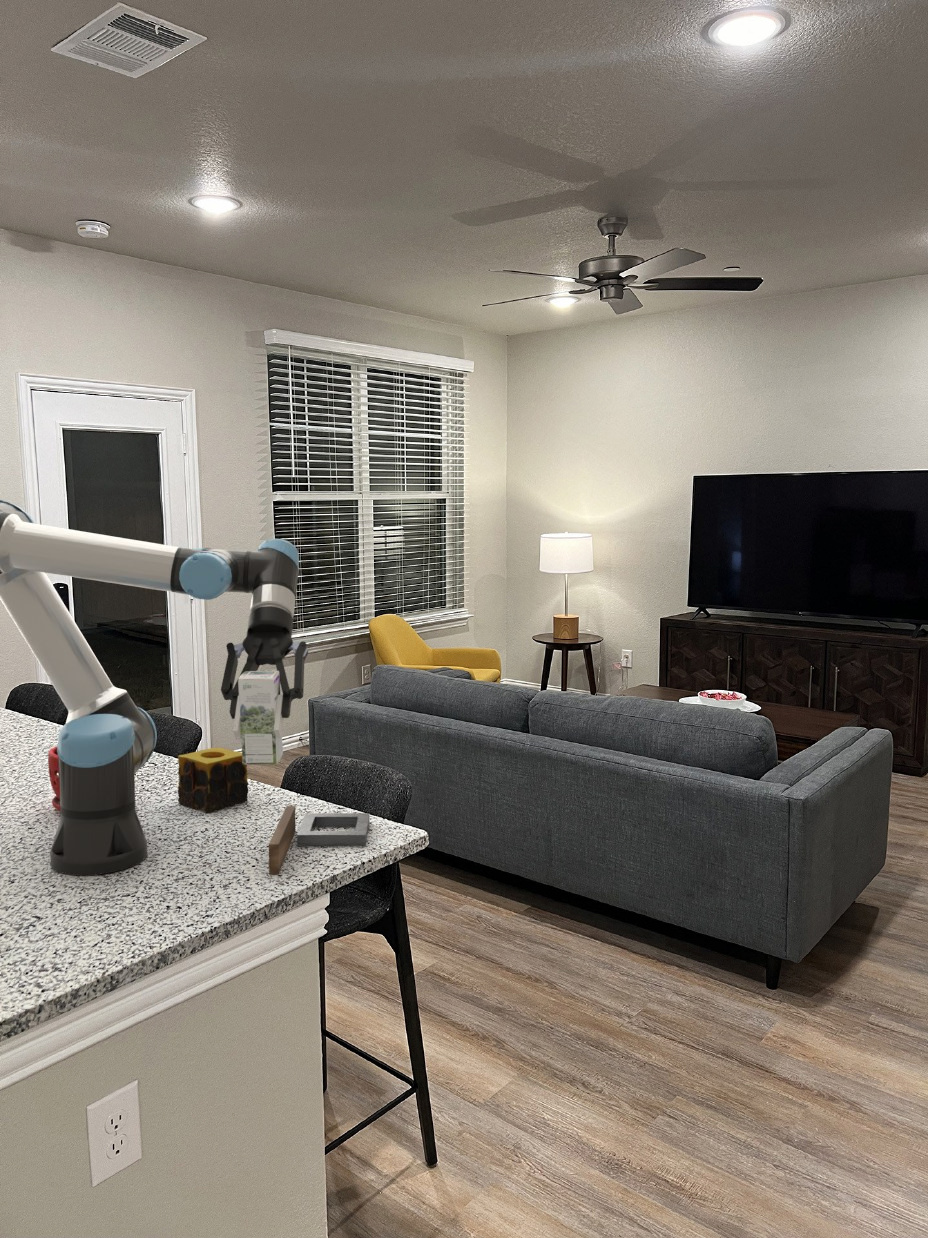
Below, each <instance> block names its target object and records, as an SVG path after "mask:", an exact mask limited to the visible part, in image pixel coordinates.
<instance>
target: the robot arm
mask: <svg viewBox="0 0 928 1238" xmlns="http://www.w3.org/2000/svg"><path fill="white" fill-rule="evenodd" d="M299 561H300V555H299V550H298V549H297V548H296V546H295V545H294V544H293V543H291V542H290V541H288V540H286V539H281V538H272V539H270V540H265V541H263V542H262V543H260V545H259V546H258V549H257V550H245V551H244V550H237V549H236V550H235V549H223V548H222V549H221V548H211V547H202V548H198V547H196V548H195V547H193V548H187V547H180V546H174V545H168V544H167V545H166V544H162V543H156V542H149V541H143V540H136V539H130V538H123V537H118V536H111V535H106V534H101V533H100V534H99V533H94V532H87V531H82V530H81V531H80V530H77V529H76V530H75V529H70V528H63V527H58V526H51V525H45V524H38V523H35V521H34V519H33V518H32V516H30V514H29V513H28V512H27V511H26V510H24V508H22V507H20V505H19V506H18V505H17V504H14V503H12V502H10V501H6V500H1V499H0V601H1V603H2V605H3V607H4V609H5V610H6V611H7V613H8V615H9V616H10V618H11V620H12V621H13V623H14V624H15V627H17V629H18V631H19V633H20V634H21V636H22V638H23V639H24V641H25V642H26V644H27V646H28V648H30V650H31V652H32V654H33V655H34V657H35V658H36V660H37V662H38V664H39V665H40V668H42V669H43V672H44V674H45V675H46V676H47V679H49V682H50V683H51V684H52V686H53V688H54V689H55V692H56V693H57V695H58V696H59V698H60V699H61V701H62V703H63V705H64V706H65V707H66V709H67V713H68V714H67V718H66V720H65V721H66V722H65V724H64V725H63V726H62V727H61V728H60V729H59V733H58V740H57V744H56V746H57V752H58V760H59V774H58V776H59V785H60V811H59V812H60V819H59V822H58V825H57V827H56V832H55V835H54V837H53V841H52V845H51V848H50V852H49V853H50V854H49V855H50V856H49V858H50V867H51V868H52V869H53V870H54V871H56V872H59V873H62V874H65V875H66V874H67V875H75V876H95V875H103V874H110V873H114V872H119V871H122V870H126V869H130V868H131V867H135V866H136V865H138V864H140V863H141V862H142V861H144V860H146V858H147V856H148V839H147V837H146V835H145V832H144V829H143V826H142V824H141V822H140V819H139V817H138V814H137V810H136V784H135V782H136V779H135V776H136V775H135V774H136V773H137V772H138V771H139V770H140V769H141V768H143V766H144V765H146V763H147V762H148V761H149V760H150V759H151V757H152V755H153V752H154V749H155V748H156V744H157V737H158V736H157V735H158V734H157V727H156V723H155V721H154V719H152V717H151V716H150V715H149V714H148V712H146V710H144V709H143V708H141V707H139V706H136V704H135V702H134V701H133V699H132V698H131V696H130V694H129V692H128V691H127V690H126V689H123V688H118V687H116V686H115V685H113V683H112V682H111V680H110V677H108V675H107V673H106V672H105V670H104V668H103V666H102V665H101V663H100V661H99V660H98V658H97V657H96V655H95V653H94V652H93V650H92V648H91V646H90V645H89V643H88V642H87V640H86V638H85V636H84V635H83V633H82V632H81V630H80V628H79V627H78V625H77V623H76V622H75V620H74V618H73V617H72V615H71V613H70V611H69V610H68V608H67V606H66V605H65V604H64V601H63V599H62V598H61V596H60V595H59V593H58V591H57V590H56V588H55V586H54V585H53V583H52V582H51V579H50V578H49V577H48V575H47V574H53V575H59V576H64V577H65V576H66V577H73V578H78V579H83V580H84V579H85V580H90V581H91V580H92V581H98V582H104V583H112V584H118V585H124V586H131V587H138V588H144V589H150V590H157V591H163V592H164V591H165V592H171V593H176V594H181V595H188V596H191V597H192V598H195V599H198V600H205V601H206V600H207V601H208V600H213V599H217V598H219V597H221V596H222V595H223V594H225V593H243V594H244V593H245V594H251V600H250V608H249V616H248V624H247V630H246V636H245V638H244V639H243V640H242V642H241V643H237V644H234V643H233V642H228V643H227V644H225V645H226V651H227V658H226V663H225V667H224V673H223V678H222V682H221V687H220V691H221V695H222V697H223V699H224V701H230V705H229V714H230V717H231V719H232V720H234V721H233V727H232V729H233V730H232V731H233V732H232V733H233V734H234V737H235V739H236V740H241V725H240V705H239V687H238V679H237V680H236V683H235V679H236V674H237V669H238V665H239V659H240V658H241V656H242V653H243V652H245V653H246V654H247V656H246V662H245V664H244V666H243V668H242V670H241V672H240V674H239V676H238V678H239V677H240V675H241V674H242V673H244V672H246V671H259V670H258V669H260V666H264V665H270V666H275V668H276V671H279V675H280V689H281V692H282V694H280V695H278V696H277V705H276V714H275V723H274V732H275V735H276V738H281V735H282V736H283V733H282V732H283V724H284V723H283V722H284V719H288V718H289V717H290V716H291V709H292V708H291V707H292V702H293V700H295V699H298V700H300V699H301V700H302V698H303V697H304V686H305V685H304V684H305V683H304V682H305V661H306V659H307V656H308V654H309V649H308V645H307V642H306V641H300V642H295V641H294V640H293V639H292V636H293V627H294V616H295V607H296V597H297V596H296V595H297V587H298V580H299V573H300V572H299V571H300V570H299V566H300V565H299V564H300V563H299ZM46 573H47V574H46ZM291 651H293V656H294V673H293V674H294V677H293V678H294V679H293V687H291V688H290V684H289V680H288V678H287V673H286V669H285V666H284V665H285V664H284V661H283V660H284V659H285V658H286V657H287V656H288V655H289V653H291Z"/></svg>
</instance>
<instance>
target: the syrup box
mask: <svg viewBox="0 0 928 1238" xmlns="http://www.w3.org/2000/svg"><path fill="white" fill-rule="evenodd" d="M240 674H241V673H240ZM240 674H239V676H240V677H239V676H238V678H237V680H238V687H239V705H240V725H241V739H240V742H241V753H242V762H243V765H247V766H249V765H257V766H259V765H277V764H278V763H279V762H280V761H281V758H282V756H283V754H284V746H283V734H282V735H281V738H276V735H275V732H274V723H275V714H276V705H277V696H278V695H281V684H280V675H279V671H277V670H260V671H259V670H257V671H246V672H244V673H242V674H241V675H240Z"/></svg>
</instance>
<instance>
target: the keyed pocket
mask: <svg viewBox="0 0 928 1238" xmlns="http://www.w3.org/2000/svg"><path fill="white" fill-rule="evenodd" d="M370 816H371V815H370V813H369V812H368V813H367V812H366V813H363V812H357V813H354V812H350V813H348V812H346V813H342V812H341V813H339V812H338V813H337V812H336V813H333V812H330V813H327V812H325V813H324V812H323V813H320V812H318V813H316V812H314V813H311V812H310V813H309V812H308V813H307V812H306V813H305V814H304V816H303V817H302V821H301V823H300V826H299V828H298V832H297V834H296V846H297V847H366V846H367V840H368V835H369V828H370V821H371V820H370ZM315 828H355V830H315Z"/></svg>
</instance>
